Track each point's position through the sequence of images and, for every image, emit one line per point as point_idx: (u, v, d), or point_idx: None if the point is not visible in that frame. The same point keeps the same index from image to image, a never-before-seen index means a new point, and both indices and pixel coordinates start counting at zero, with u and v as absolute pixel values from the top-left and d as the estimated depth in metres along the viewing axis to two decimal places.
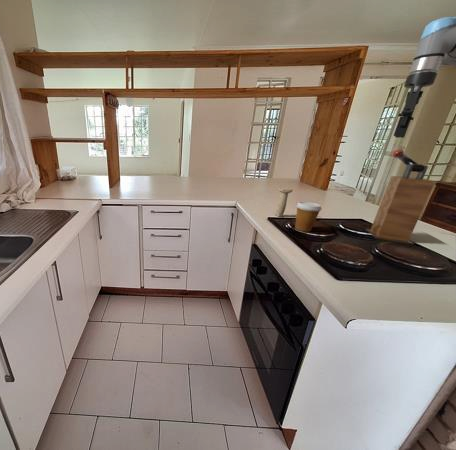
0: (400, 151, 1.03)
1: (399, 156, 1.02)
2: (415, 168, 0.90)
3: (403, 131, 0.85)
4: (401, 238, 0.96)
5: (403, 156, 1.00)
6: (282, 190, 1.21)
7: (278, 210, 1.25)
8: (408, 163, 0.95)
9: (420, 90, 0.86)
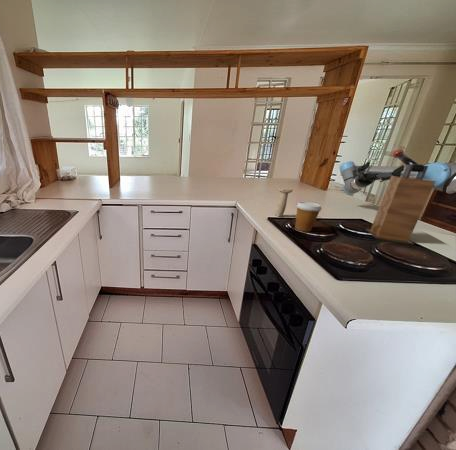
0: (400, 151, 1.03)
1: (399, 156, 1.02)
2: (415, 168, 0.90)
3: (366, 163, 1.19)
4: (401, 238, 0.96)
5: (403, 156, 1.00)
6: (282, 190, 1.21)
7: (278, 210, 1.25)
8: (408, 163, 0.95)
9: None
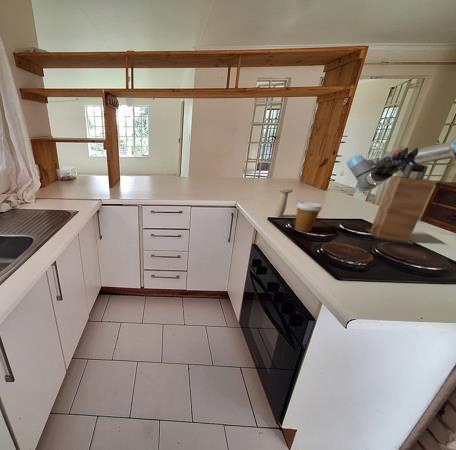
0: (400, 151, 1.03)
1: None
2: (415, 168, 0.90)
3: (403, 150, 0.98)
4: (401, 238, 0.96)
5: None
6: (282, 190, 1.21)
7: (278, 210, 1.25)
8: (408, 163, 0.95)
9: None
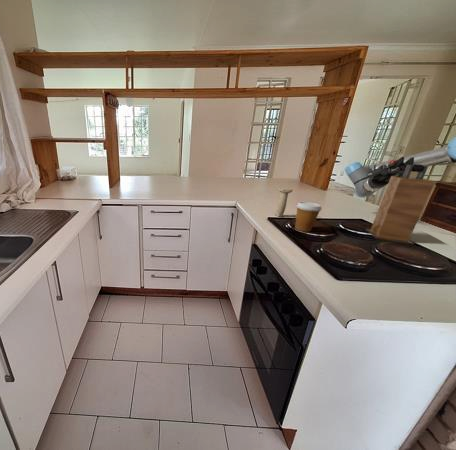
0: (395, 160, 1.06)
1: None
2: (415, 167, 0.90)
3: (399, 159, 1.00)
4: (401, 238, 0.96)
5: None
6: (282, 190, 1.21)
7: (278, 210, 1.25)
8: None
9: None
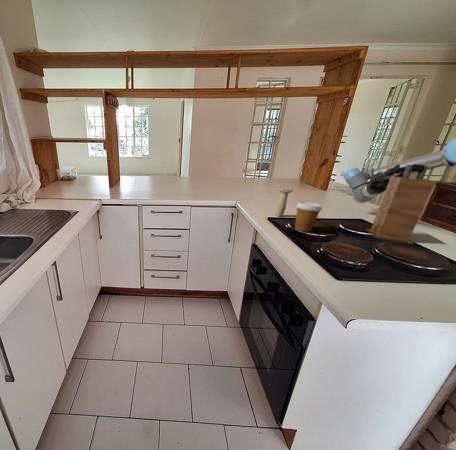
0: None
1: None
2: (416, 166, 0.90)
3: (395, 167, 1.01)
4: (401, 238, 0.96)
5: None
6: (282, 190, 1.21)
7: (278, 210, 1.25)
8: None
9: None
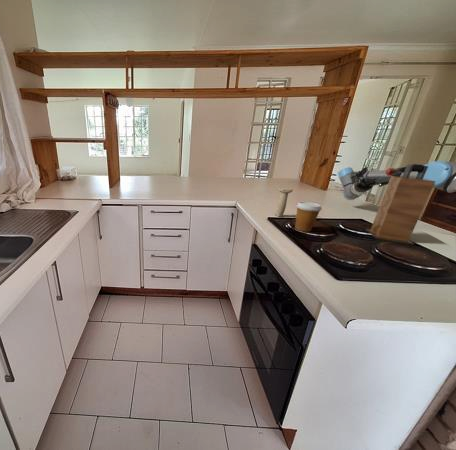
0: (392, 168, 1.07)
1: (393, 170, 1.04)
2: (416, 166, 0.90)
3: (363, 169, 1.19)
4: (401, 238, 0.96)
5: (398, 168, 1.02)
6: (282, 190, 1.21)
7: (278, 210, 1.25)
8: None
9: None
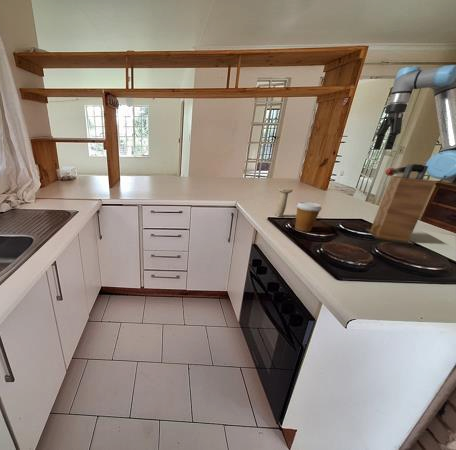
0: (392, 168, 1.07)
1: (393, 170, 1.04)
2: (416, 166, 0.90)
3: (391, 146, 1.15)
4: (401, 238, 0.96)
5: (398, 168, 1.02)
6: (282, 190, 1.21)
7: (278, 210, 1.25)
8: None
9: None
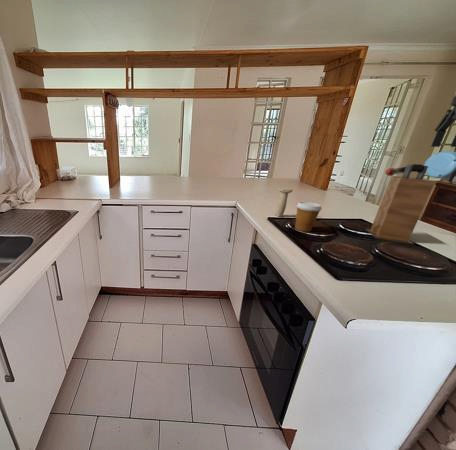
0: (392, 168, 1.07)
1: (393, 170, 1.04)
2: (416, 166, 0.90)
3: None
4: (401, 238, 0.96)
5: (398, 168, 1.02)
6: (282, 190, 1.21)
7: (278, 210, 1.25)
8: None
9: None
